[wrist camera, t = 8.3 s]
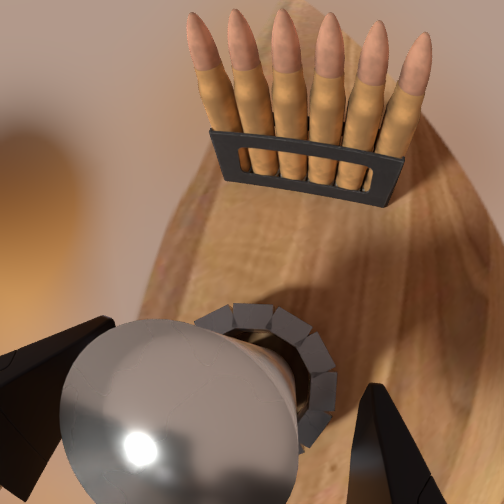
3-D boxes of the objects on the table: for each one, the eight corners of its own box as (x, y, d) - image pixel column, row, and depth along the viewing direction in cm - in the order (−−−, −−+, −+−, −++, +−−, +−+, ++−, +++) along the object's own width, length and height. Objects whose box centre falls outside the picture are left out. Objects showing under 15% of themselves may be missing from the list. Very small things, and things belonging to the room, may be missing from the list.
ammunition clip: (387, 184, 19) (445, 29, 7) (386, 208, 18) (455, 53, 7) (231, 158, 21) (179, 6, 10) (223, 180, 20) (160, 26, 9)
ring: (222, 471, 14) (211, 486, 12) (161, 348, 17) (142, 346, 15) (355, 412, 14) (364, 420, 12) (287, 285, 17) (285, 274, 15)
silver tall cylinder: (236, 434, 15) (126, 556, 3) (202, 366, 16) (34, 367, 5) (309, 402, 15) (343, 507, 3) (272, 332, 17) (220, 272, 5)
